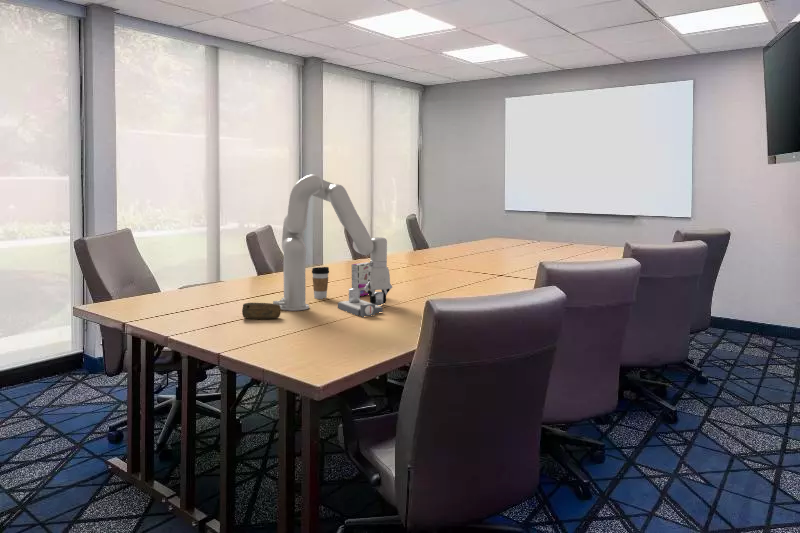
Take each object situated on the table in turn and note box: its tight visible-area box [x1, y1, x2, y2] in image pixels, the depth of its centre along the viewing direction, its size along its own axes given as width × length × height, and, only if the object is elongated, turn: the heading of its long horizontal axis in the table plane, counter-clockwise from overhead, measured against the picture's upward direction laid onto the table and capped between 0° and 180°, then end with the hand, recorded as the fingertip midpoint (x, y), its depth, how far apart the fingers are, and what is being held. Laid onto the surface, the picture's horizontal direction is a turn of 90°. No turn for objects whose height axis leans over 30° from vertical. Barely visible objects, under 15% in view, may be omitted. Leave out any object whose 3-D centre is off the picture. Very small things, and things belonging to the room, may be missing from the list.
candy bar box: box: [351, 261, 370, 297], centre depth 296 cm, size 11×5×16 cm, turn 143°
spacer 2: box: [374, 291, 384, 305], centre depth 273 cm, size 5×5×6 cm
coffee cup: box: [311, 266, 330, 300], centre depth 288 cm, size 8×8×15 cm
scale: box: [337, 299, 384, 318], centre depth 258 cm, size 12×22×5 cm, turn 33°
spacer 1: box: [348, 287, 361, 303], centre depth 263 cm, size 5×5×6 cm
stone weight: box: [241, 302, 282, 320], centre depth 241 cm, size 15×7×7 cm, turn 100°
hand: (378, 303), depth 273 cm, fingers closed on spacer 2, 5 cm apart
